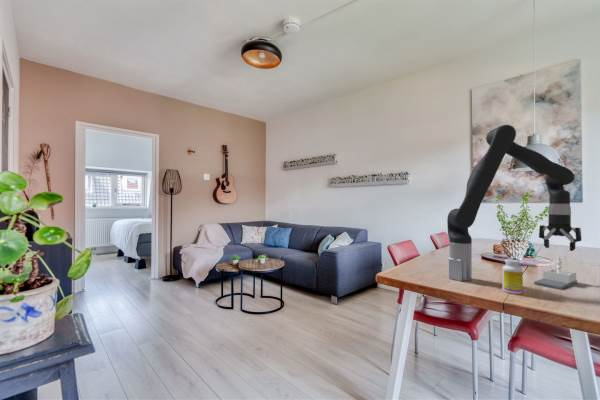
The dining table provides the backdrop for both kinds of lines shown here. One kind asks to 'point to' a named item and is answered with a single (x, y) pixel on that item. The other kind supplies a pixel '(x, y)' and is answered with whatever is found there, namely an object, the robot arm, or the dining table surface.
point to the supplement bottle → (512, 277)
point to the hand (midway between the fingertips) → (559, 249)
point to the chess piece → (559, 265)
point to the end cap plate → (557, 279)
